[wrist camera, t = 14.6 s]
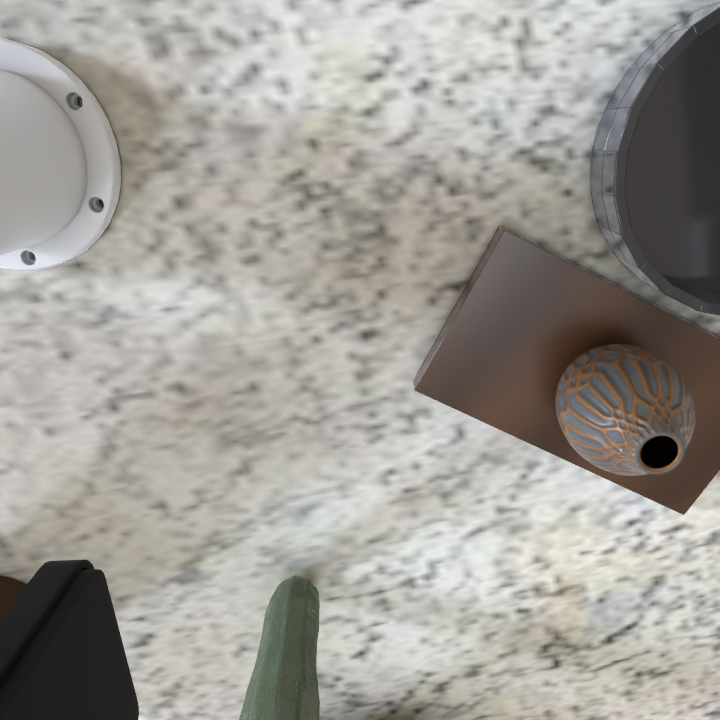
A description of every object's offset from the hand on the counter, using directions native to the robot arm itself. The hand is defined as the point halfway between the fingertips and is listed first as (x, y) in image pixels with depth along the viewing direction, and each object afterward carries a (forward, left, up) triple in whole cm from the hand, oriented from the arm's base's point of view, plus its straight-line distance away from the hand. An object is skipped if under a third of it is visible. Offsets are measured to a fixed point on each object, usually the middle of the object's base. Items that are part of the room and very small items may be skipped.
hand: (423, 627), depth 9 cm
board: (+15, -1, -30) cm, 34 cm away
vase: (+15, -1, -29) cm, 33 cm away
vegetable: (+5, -24, -31) cm, 39 cm away
